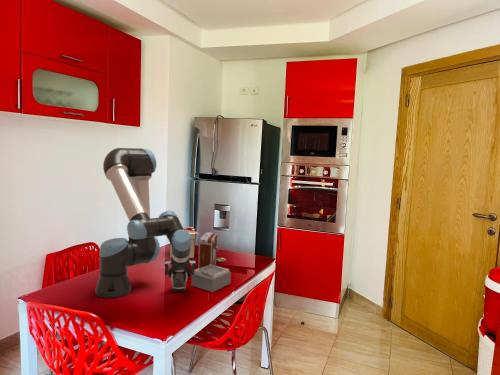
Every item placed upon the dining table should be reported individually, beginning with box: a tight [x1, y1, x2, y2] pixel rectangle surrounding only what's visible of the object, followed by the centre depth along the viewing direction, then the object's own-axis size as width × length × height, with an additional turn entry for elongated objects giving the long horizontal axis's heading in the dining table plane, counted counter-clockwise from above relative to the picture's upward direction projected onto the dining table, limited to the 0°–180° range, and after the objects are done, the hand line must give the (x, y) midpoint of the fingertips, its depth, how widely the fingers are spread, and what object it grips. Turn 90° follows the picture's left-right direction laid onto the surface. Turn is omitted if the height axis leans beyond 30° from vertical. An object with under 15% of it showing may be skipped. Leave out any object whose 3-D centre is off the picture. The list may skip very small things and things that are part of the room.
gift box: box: [169, 226, 200, 259], centre depth 228 cm, size 17×18×17 cm
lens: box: [171, 268, 187, 294], centre depth 173 cm, size 6×6×12 cm
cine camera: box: [197, 231, 219, 269], centre depth 203 cm, size 9×19×20 cm, turn 174°
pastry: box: [216, 256, 227, 265], centre depth 220 cm, size 7×12×4 cm, turn 137°
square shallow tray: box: [190, 268, 232, 293], centre depth 182 cm, size 14×13×6 cm
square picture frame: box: [194, 264, 230, 279], centre depth 181 cm, size 12×12×2 cm
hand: (179, 279), depth 177 cm, fingers closed on lens, 6 cm apart
